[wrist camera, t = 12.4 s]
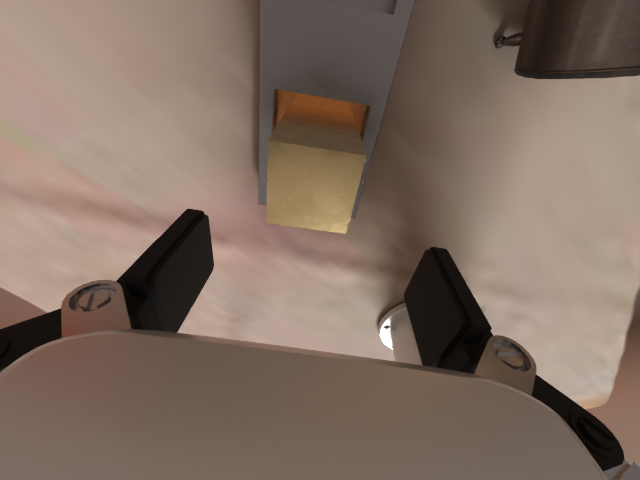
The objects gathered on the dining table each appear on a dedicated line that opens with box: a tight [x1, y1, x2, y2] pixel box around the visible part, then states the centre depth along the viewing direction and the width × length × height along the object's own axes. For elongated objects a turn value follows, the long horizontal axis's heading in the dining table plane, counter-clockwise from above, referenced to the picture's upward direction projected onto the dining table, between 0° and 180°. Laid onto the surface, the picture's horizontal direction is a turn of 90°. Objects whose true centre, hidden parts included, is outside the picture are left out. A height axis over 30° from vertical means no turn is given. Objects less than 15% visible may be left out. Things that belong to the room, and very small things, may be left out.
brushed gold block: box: [266, 105, 366, 234], centre depth 18 cm, size 5×5×9 cm
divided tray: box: [259, 0, 415, 218], centre depth 18 cm, size 9×24×2 cm, turn 171°
